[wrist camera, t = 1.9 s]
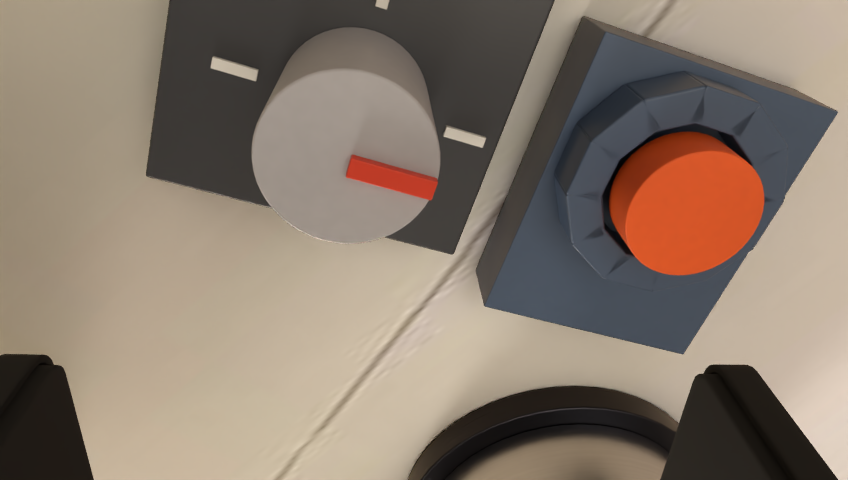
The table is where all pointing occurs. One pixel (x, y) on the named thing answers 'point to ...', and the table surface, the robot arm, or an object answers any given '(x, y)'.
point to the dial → (348, 138)
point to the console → (288, 30)
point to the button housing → (597, 168)
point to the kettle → (554, 439)
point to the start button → (685, 203)
